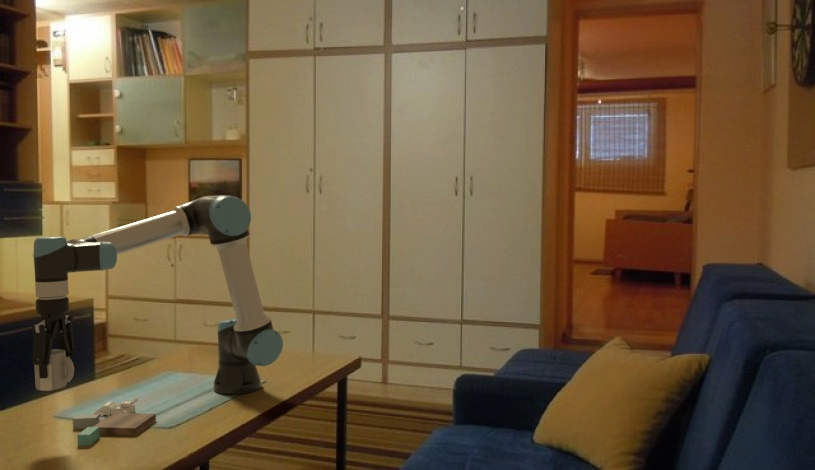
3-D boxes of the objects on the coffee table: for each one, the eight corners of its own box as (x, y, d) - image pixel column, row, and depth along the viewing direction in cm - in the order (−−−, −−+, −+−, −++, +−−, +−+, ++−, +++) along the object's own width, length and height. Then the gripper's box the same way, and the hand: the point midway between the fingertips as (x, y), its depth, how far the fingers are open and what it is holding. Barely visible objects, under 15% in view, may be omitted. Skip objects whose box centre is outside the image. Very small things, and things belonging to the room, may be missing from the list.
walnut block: (155, 420, 194) (155, 413, 193) (135, 435, 182) (135, 428, 182) (115, 419, 195) (114, 412, 194) (92, 434, 183) (91, 427, 183)
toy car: (100, 410, 204) (100, 396, 204) (140, 410, 204) (140, 396, 204) (90, 417, 198) (90, 402, 198) (132, 417, 198) (132, 402, 198)
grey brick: (99, 425, 191) (99, 414, 191) (96, 428, 188) (95, 417, 188) (76, 426, 190) (76, 415, 190) (73, 429, 187) (72, 418, 187)
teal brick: (88, 438, 180) (87, 427, 180) (99, 438, 181) (99, 426, 180) (77, 446, 174) (77, 434, 174) (89, 446, 175) (89, 434, 174)
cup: (47, 382, 181) (46, 349, 180) (82, 383, 179) (81, 349, 179) (29, 390, 174) (27, 355, 173) (65, 391, 172) (64, 356, 172)
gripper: (61, 291, 185) (64, 375, 187) (12, 303, 165) (16, 397, 167) (87, 291, 185) (91, 375, 186) (41, 303, 165) (45, 397, 166)
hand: (55, 385), depth 176 cm, fingers closed on cup, 7 cm apart
